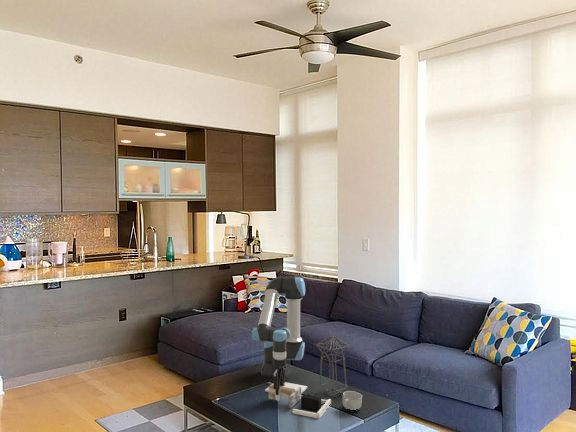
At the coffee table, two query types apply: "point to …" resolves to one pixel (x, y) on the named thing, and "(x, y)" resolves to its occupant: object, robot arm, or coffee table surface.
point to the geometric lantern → (332, 361)
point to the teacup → (352, 400)
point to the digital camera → (310, 403)
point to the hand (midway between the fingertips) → (279, 398)
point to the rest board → (294, 386)
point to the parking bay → (314, 415)
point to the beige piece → (286, 394)
